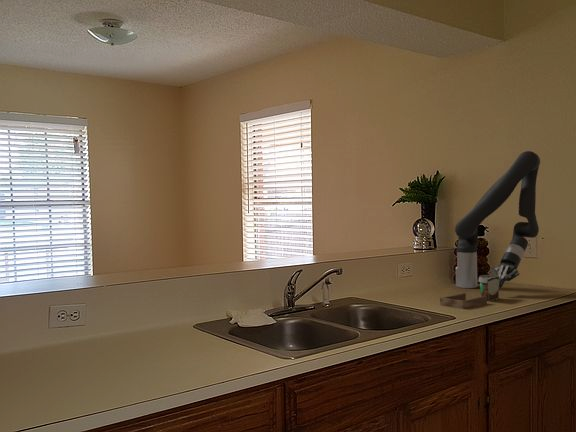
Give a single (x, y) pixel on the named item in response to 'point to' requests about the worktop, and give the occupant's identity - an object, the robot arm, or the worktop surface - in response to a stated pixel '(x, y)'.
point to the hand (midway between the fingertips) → (497, 286)
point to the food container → (489, 286)
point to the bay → (462, 301)
